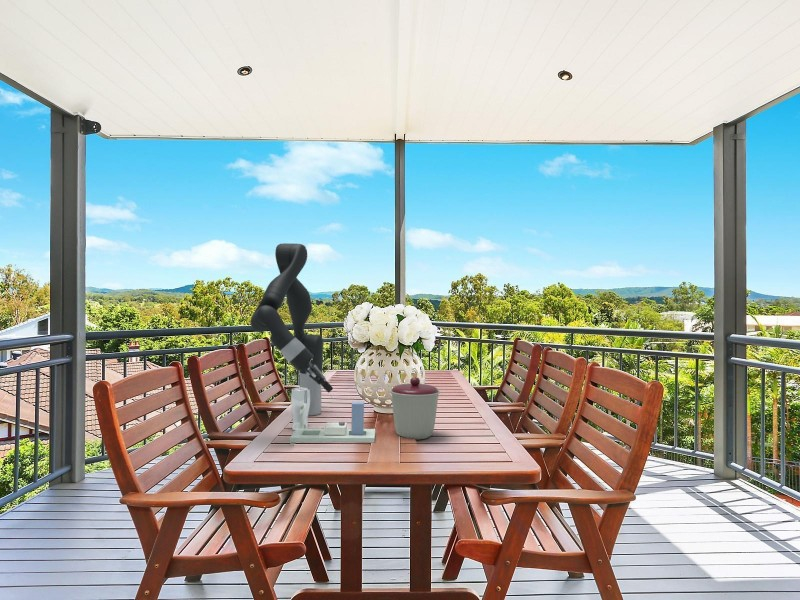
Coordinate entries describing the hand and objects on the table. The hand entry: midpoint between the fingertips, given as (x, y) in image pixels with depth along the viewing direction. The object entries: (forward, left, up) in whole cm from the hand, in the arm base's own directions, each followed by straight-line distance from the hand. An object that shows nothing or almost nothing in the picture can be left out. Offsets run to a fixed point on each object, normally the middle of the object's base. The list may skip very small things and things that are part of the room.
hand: (331, 390), depth 183 cm
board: (+1, +1, -17) cm, 17 cm away
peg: (+1, +9, -16) cm, 19 cm away
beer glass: (-14, -13, -17) cm, 26 cm away
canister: (-5, +29, -17) cm, 35 cm away
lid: (+1, +2, -14) cm, 14 cm away
